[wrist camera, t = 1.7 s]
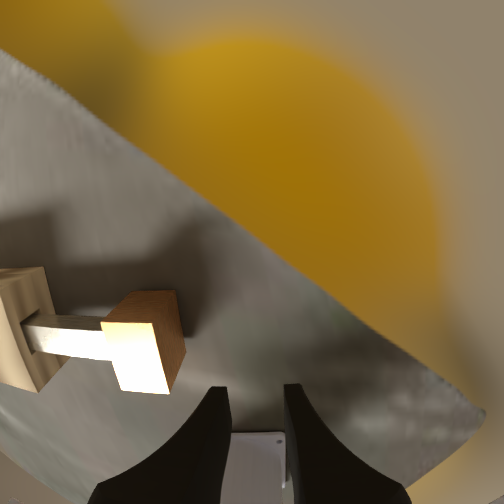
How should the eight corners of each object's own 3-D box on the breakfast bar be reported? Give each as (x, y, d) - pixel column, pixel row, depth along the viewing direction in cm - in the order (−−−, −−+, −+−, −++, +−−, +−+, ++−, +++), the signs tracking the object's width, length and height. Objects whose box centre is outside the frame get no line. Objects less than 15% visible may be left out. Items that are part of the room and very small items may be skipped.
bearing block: (43, 266, 19) (-2, 290, 14) (70, 357, 21) (37, 393, 16) (-18, 269, 20) (-56, 288, 15) (6, 346, 22) (-24, 372, 17)
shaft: (175, 290, 18) (151, 323, 14) (186, 351, 20) (169, 393, 15) (5, 290, 19) (-29, 311, 15) (20, 338, 20) (-9, 363, 16)
